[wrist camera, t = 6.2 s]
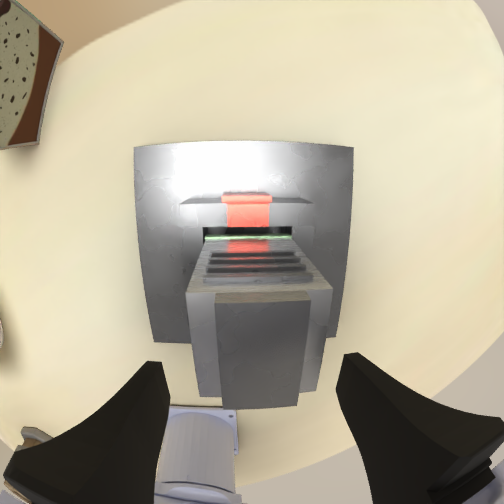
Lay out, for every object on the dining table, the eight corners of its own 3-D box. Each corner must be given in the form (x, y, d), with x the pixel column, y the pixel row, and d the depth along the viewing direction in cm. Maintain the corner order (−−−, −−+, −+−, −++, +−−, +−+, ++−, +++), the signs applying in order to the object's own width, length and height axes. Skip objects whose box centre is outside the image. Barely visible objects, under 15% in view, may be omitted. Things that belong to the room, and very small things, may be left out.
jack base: (329, 327, 21) (351, 365, 16) (158, 331, 20) (142, 372, 16) (344, 148, 17) (380, 143, 12) (141, 148, 16) (110, 142, 12)
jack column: (285, 306, 15) (321, 403, 8) (210, 308, 14) (197, 410, 8) (289, 231, 14) (343, 293, 7) (206, 232, 13) (179, 297, 6)
